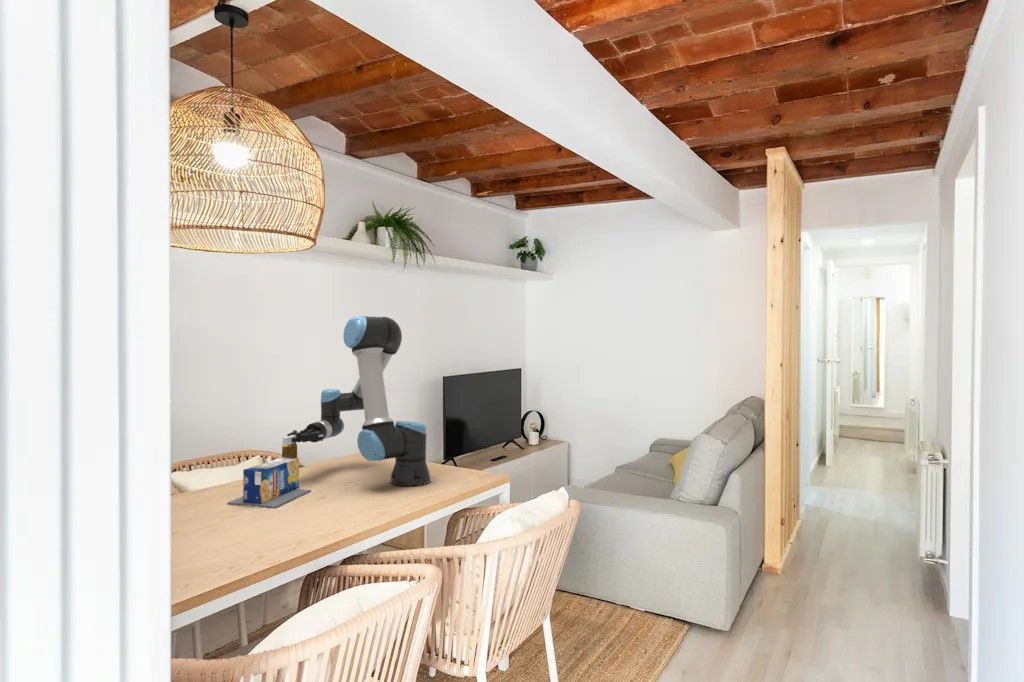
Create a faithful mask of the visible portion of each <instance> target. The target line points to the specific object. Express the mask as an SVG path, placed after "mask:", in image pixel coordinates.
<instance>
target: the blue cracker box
mask: <svg viewBox="0 0 1024 682" xmlns="http://www.w3.org/2000/svg"><path fill="white" fill-rule="evenodd" d="M299 464H300V458H299V457H297V458H289V457H282V456H281V457H279V458H275V459H272V460H269V461H266V462H263V463H261V464H257V465H253V466H251V467H248V468H245V469H244V468H243V470H242V472H243V473H242V475H243V477H242V478H243V479H242V480H243V485H242V486H243V487H242V493H243V494H242V496H243V502H247V503H258V504H262V503H264V502H266V501H269V500H271V499H273V498H276V497H278V496H280V495H283V494H285V493H288V492H290V491H292V490H295V489H300V488H299V487H300V467H299Z"/></svg>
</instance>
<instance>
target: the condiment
mask: <svg viewBox="0 0 1024 682" xmlns="http://www.w3.org/2000/svg"><path fill="white" fill-rule="evenodd" d="M281 447H282V448H281V450H282V451H281V455H282V456H281V457H289V458H298V444H297V442H296V443H294V444H290V445H287V446H283V444H282V446H281ZM301 466H302V467H304V465H303V464H300V463H299V468H301Z"/></svg>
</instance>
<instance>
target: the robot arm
mask: <svg viewBox="0 0 1024 682" xmlns="http://www.w3.org/2000/svg"><path fill="white" fill-rule="evenodd" d="M402 334H403V333H402V330H401V327H400V325H399V324H398V323H397V322H396V321H395V320H394V319H393V318H390V317H387V316H364V315H361V316H353V317H351V318H349V320H347V322H346V324H345V326H344V329H343V342H344V344H345V347H347V348H349V349H351V354H352V355H353V357H355V358H356V360H357V367H358V369H357V370H358V375H359V378H358V379H357V381H356V384H355V385H354V387H353V389H352V391H351V392H341V390H340V389H339V388H328V389H327V388H326V389H323V390H322V391H321V394H320V420H319V421H315V422H312V423H309V424H307V426H306V427H305V428H304V429H302V430H299V431H298V430H296V429H294V430H292V431H291V432H289V433H287V435H286V436H285V437H282V445H283V446H287V445H290V444H294V443H296V444H297V443H300V442H302V443H306V442H311V443H318V442H320V441H321V442H323V441H324V440H327V439H329V438H333V437H336V436H338V435H340V434H341V433H342V432H343V431H344V429H345V423H344V421H343V419H342V418H341V412H347V411H348V412H349V411H350V412H351V411H364V419H365V421H364V422H363V424H362V426H361V429H362V430H360V431H359V433H358V435H357V438H356V439H357V440H356V441H357V442H356V443H357V447H358V448H357V449H358V451H359V452H360V454H361V456H362V457H363V458H364V459H365V460H367V461H370V462H375V461H383V460H384V461H385V460H388V459H394V458H395V461H394V466H393V469H392V471H391V474H390V483H391V484H392V485H394V484H395V485H394V486H398V485H401V486H400V487H413V486H412V485H419V486H421V485H420V484H424V483H427V482H429V481H430V482H431V474H430V473H431V472H430V470H429V467H428V464H427V436H428V435H427V427H426V425H425V424H424V423H422V422H416V421H403V420H398V421H396V422H395V421H394V420H393V419H392V418H391V417H390V416H389V409H388V402H387V395H386V388H385V387H386V386H385V381H384V380H385V379H384V374H383V373H384V371H385V370H386V367H387V366H388V364H389V362H390V360H391V359H392V357H393V356H394V355H396V354H397V353H398V351H399V349H400V347H401V344H402V341H403V340H402V339H403V336H402ZM430 482H429V483H430ZM427 484H428V483H427ZM424 485H425V484H424Z"/></svg>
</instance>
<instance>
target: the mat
mask: <svg viewBox="0 0 1024 682" xmlns="http://www.w3.org/2000/svg"><path fill="white" fill-rule="evenodd" d="M311 492H312V490H311V489H303V488H302V489H301V488H297V489H295V490H292V491H290V492H288V493H285V494H283V495H280V496H278V497H276V498H273V499H271V500H269V501H266V502H264V503H262V504H258V503H247V502H243V495H242V496H241V497H237V498H236V499H233V500H230V501H228V502H227V503H226V504H227V505H228V504H237V505H236V506H240V505H251V506H250V507H252V506H258V507H257V508H264V507H266V508H267V509H277V508H280V507H282V506H284V505H286V504H289V503H290V502H292V501H294V499H295V500H296V498H297V499H298V497H299V498H301V497H303V496H305V495H307V494H308V493H311ZM306 493H307V494H306ZM302 495H303V496H302ZM300 496H301V497H300ZM266 508H265V509H266Z"/></svg>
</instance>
